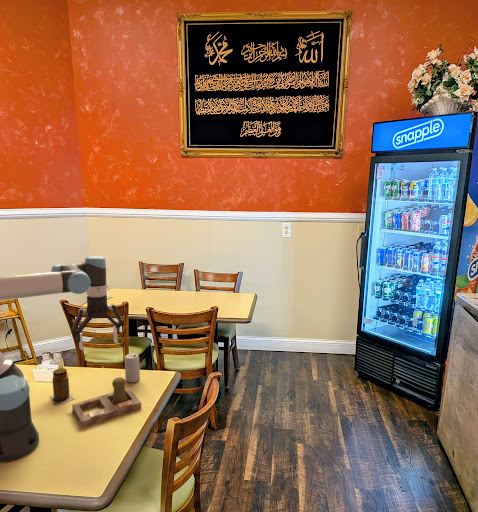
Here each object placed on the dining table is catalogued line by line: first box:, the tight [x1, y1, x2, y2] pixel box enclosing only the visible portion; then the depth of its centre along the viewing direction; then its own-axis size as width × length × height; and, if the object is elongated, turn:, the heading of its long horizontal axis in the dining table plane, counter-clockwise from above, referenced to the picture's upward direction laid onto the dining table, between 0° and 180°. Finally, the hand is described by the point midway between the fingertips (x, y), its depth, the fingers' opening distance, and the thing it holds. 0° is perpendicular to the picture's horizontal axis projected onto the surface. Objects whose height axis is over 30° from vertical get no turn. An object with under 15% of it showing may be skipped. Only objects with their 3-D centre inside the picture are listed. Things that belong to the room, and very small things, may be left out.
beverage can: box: [124, 352, 141, 383], centre depth 177 cm, size 6×6×12 cm
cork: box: [112, 377, 128, 406], centre depth 158 cm, size 6×6×11 cm
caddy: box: [71, 387, 142, 429], centre depth 155 cm, size 23×14×3 cm, turn 126°
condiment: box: [50, 367, 75, 406], centre depth 161 cm, size 7×8×12 cm
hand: (98, 345), depth 157 cm, fingers open, 13 cm apart
